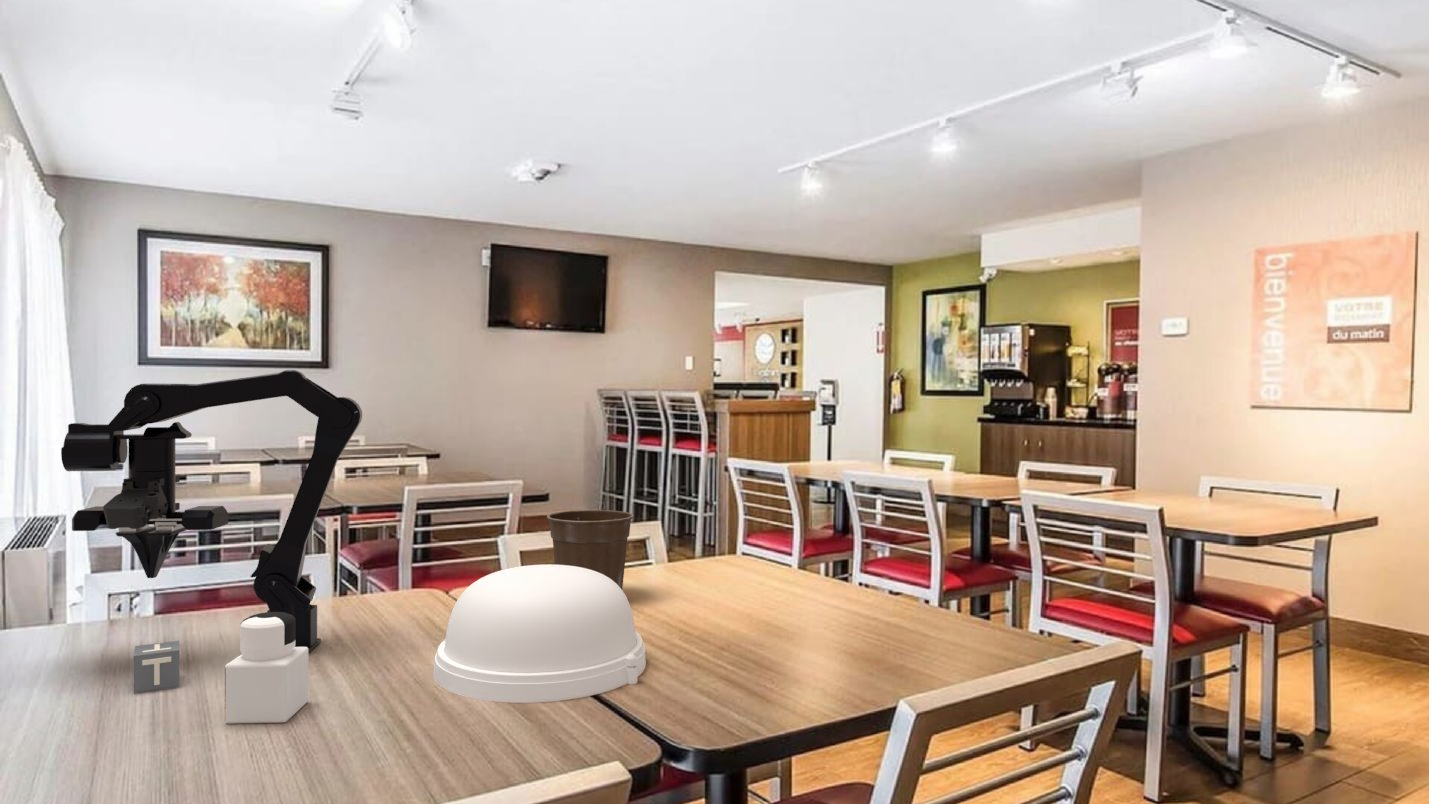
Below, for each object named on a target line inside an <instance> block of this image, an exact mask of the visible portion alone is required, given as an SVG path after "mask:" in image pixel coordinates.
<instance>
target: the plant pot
mask: <svg viewBox="0 0 1429 804" xmlns="http://www.w3.org/2000/svg"><path fill="white" fill-rule="evenodd" d="M546 519H547V520H548V521H549V531H550V537H551V539H552V545H553V546H552V547H553V556H554V558H553V559H554V565H568V566H576V567H582V568H586V569H590V570H593V571H596V572H598V573H601V574H603V575H605V576H607V577H608V578H610V579H611V580H613V581H614V582H615V583H616V584H617V585H618V586H619V587H620V588H621V589H622V590H623V586H624V577H625V566H626V556H627V547H628V538H629V537H630V534H631V533H630V531H631V524H632V523H631V522H632V521H631V520H632V519H634V514H633V513H631V512H626V511H621V510H612V509H611V510H606V509H577V510H565V511H559V512H558V511H557V512H551V513H549V514H547V515H546Z"/></svg>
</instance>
